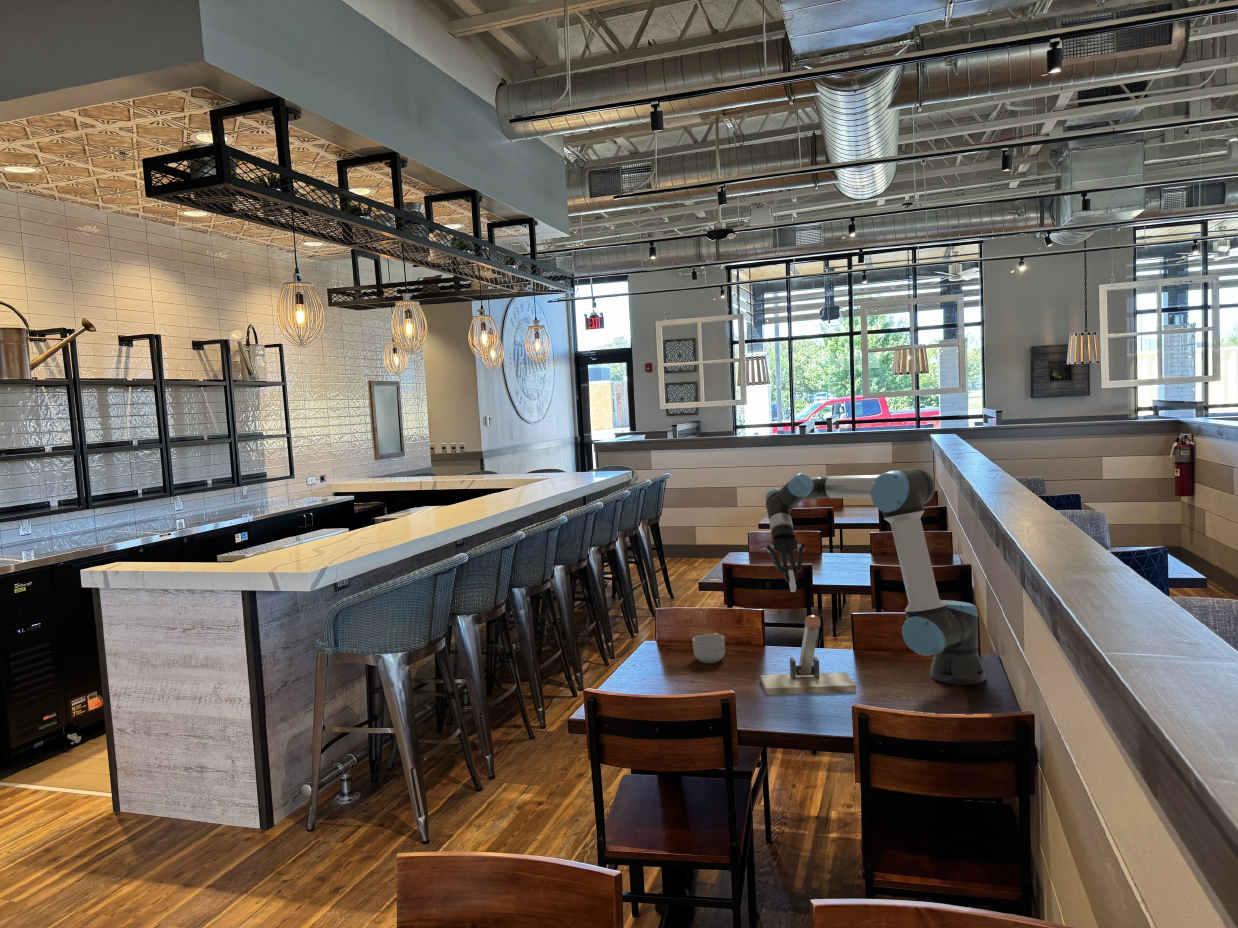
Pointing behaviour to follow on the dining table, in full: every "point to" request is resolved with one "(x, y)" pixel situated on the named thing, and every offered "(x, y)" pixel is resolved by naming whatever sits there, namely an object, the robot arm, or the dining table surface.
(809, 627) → the press lever
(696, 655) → the teacup
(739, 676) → the dining table surface
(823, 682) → the board
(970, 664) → the robot arm
